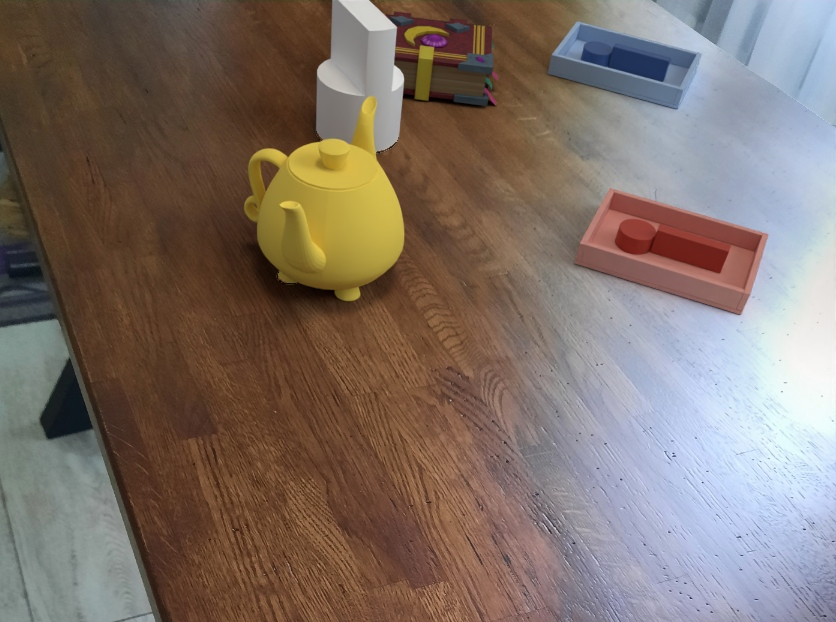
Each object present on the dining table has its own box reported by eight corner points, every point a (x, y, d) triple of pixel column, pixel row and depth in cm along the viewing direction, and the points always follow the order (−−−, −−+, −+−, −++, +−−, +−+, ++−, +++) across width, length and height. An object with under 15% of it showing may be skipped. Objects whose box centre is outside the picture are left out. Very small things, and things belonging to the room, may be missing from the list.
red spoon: (724, 261, 90) (733, 238, 88) (717, 280, 88) (727, 257, 86) (619, 229, 92) (626, 207, 90) (610, 247, 90) (617, 225, 88)
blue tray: (696, 72, 116) (702, 53, 114) (677, 109, 109) (683, 90, 108) (572, 39, 119) (577, 20, 117) (547, 73, 112) (551, 54, 111)
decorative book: (364, 50, 112) (367, 4, 108) (496, 65, 113) (504, 20, 109) (355, 93, 105) (358, 46, 101) (496, 110, 106) (504, 64, 102)
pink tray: (759, 253, 92) (769, 233, 90) (740, 315, 86) (750, 294, 84) (603, 207, 95) (609, 187, 93) (574, 263, 89) (579, 242, 87)
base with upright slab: (413, 147, 99) (425, 24, 90) (336, 160, 96) (341, 35, 87) (376, 107, 104) (385, -13, 94) (302, 119, 101) (303, -4, 91)
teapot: (288, 192, 92) (287, 71, 83) (430, 231, 90) (445, 110, 81) (197, 304, 80) (185, 177, 71) (357, 351, 78) (366, 226, 69)
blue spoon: (667, 74, 114) (673, 53, 112) (660, 86, 112) (667, 65, 110) (585, 52, 116) (589, 31, 114) (577, 63, 114) (582, 42, 112)
